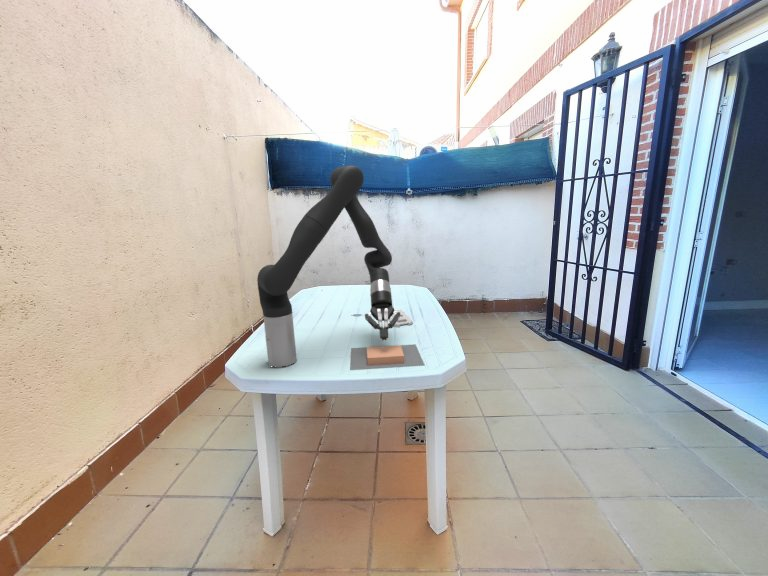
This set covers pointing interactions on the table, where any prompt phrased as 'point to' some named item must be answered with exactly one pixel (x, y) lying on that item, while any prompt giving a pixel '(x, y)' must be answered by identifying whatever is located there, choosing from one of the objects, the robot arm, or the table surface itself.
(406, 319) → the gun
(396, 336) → the table surface
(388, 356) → the tile
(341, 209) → the robot arm
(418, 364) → the mat
